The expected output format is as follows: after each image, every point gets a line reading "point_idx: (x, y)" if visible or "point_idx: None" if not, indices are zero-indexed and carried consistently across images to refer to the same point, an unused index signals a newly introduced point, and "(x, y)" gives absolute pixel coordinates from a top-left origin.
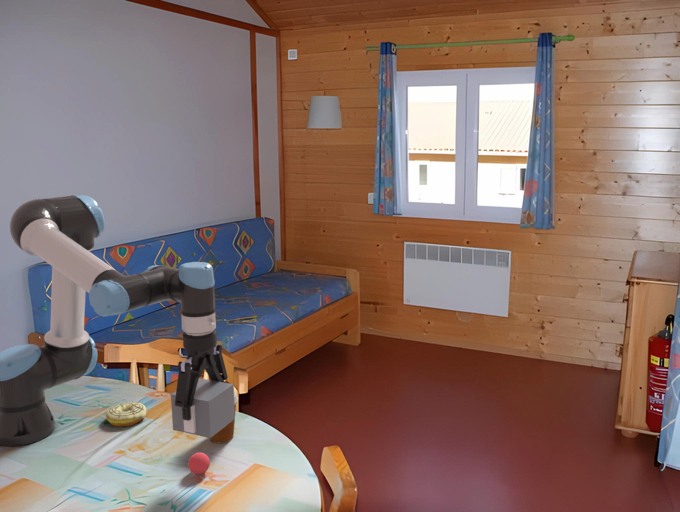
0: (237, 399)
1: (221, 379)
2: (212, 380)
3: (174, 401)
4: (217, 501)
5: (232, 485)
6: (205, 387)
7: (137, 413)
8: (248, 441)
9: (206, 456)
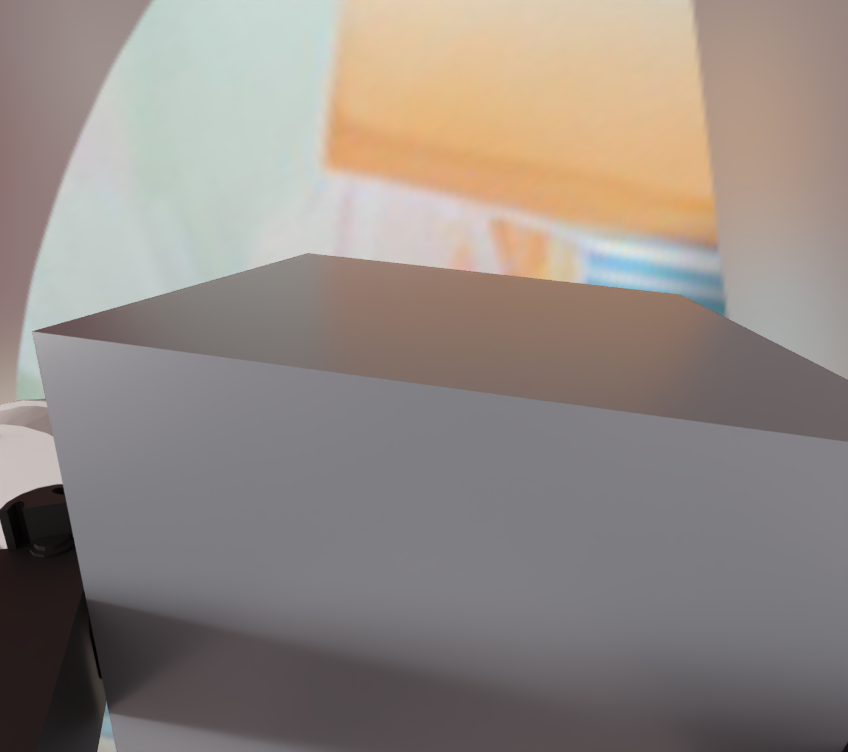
0: (4, 406)
1: (13, 594)
2: (105, 690)
3: None
4: (669, 187)
5: (530, 181)
6: (361, 706)
7: None
8: (180, 281)
9: None
